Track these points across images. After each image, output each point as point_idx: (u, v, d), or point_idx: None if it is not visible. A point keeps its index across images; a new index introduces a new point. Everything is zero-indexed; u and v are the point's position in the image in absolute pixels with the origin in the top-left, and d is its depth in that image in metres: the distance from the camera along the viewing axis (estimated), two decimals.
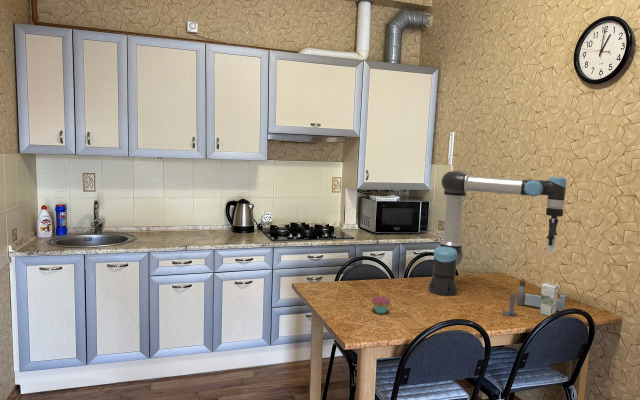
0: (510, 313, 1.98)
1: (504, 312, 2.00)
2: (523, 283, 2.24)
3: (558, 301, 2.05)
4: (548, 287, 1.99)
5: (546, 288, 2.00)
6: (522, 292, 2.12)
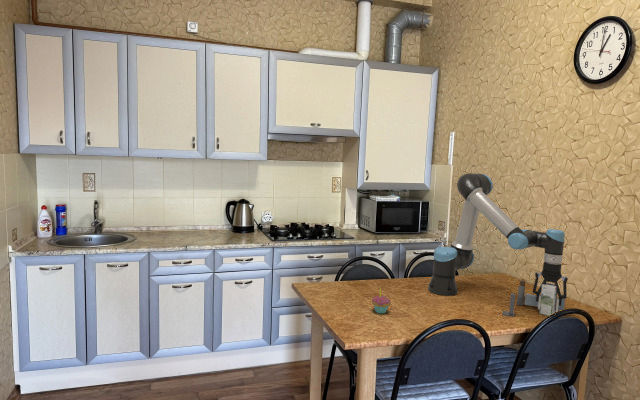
0: (510, 313, 1.98)
1: (504, 312, 2.00)
2: (523, 283, 2.24)
3: None
4: (548, 287, 1.99)
5: (546, 288, 2.00)
6: (522, 292, 2.12)
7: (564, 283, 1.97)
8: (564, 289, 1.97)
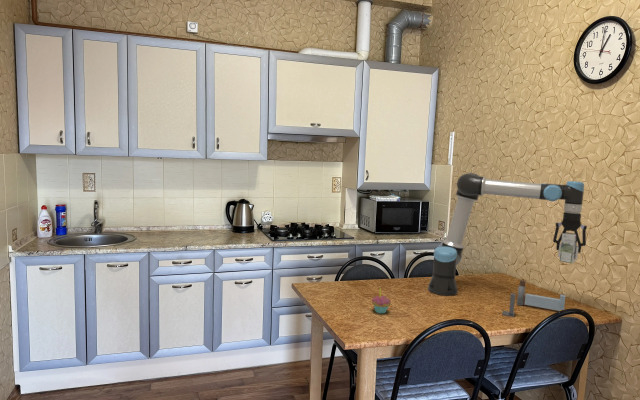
0: (510, 313, 1.98)
1: (504, 312, 2.00)
2: (523, 283, 2.24)
3: (558, 301, 2.05)
4: (568, 235, 2.11)
5: (566, 236, 2.12)
6: (522, 292, 2.12)
7: (583, 231, 2.10)
8: (583, 237, 2.10)
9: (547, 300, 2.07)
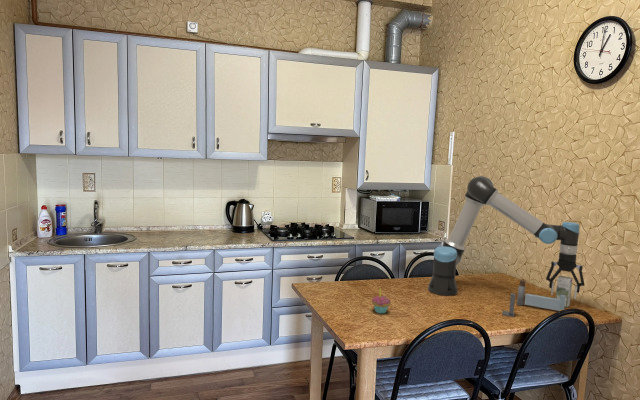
0: (510, 313, 1.98)
1: (504, 312, 2.00)
2: (523, 283, 2.24)
3: (558, 301, 2.05)
4: (563, 280, 2.13)
5: (561, 280, 2.14)
6: (522, 292, 2.12)
7: (580, 271, 2.11)
8: (581, 277, 2.11)
9: (547, 300, 2.07)
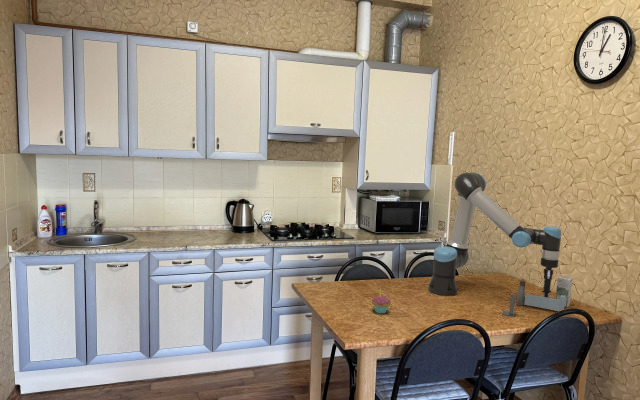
0: (510, 313, 1.98)
1: (504, 312, 2.00)
2: (523, 283, 2.24)
3: (558, 301, 2.04)
4: (563, 280, 2.13)
5: (561, 280, 2.14)
6: (522, 292, 2.12)
7: (545, 278, 2.07)
8: (544, 284, 2.07)
9: (547, 300, 2.07)
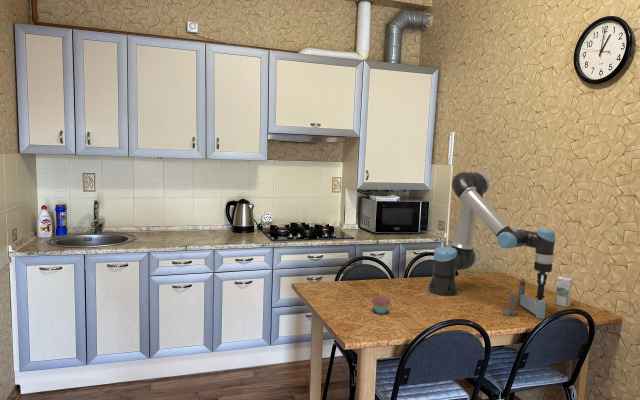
0: (510, 313, 1.98)
1: (504, 312, 2.00)
2: (523, 283, 2.24)
3: (536, 305, 1.97)
4: (563, 280, 2.13)
5: (561, 280, 2.14)
6: (519, 291, 2.13)
7: (538, 283, 1.98)
8: (538, 289, 1.99)
9: (531, 303, 2.02)
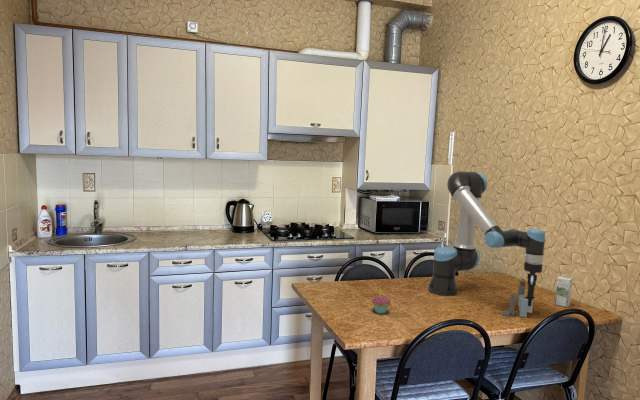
0: (510, 313, 1.98)
1: (504, 312, 2.00)
2: (523, 283, 2.24)
3: (520, 303, 1.99)
4: (563, 280, 2.13)
5: (561, 280, 2.14)
6: (518, 291, 2.13)
7: (528, 284, 1.96)
8: (528, 289, 1.96)
9: (520, 301, 2.03)
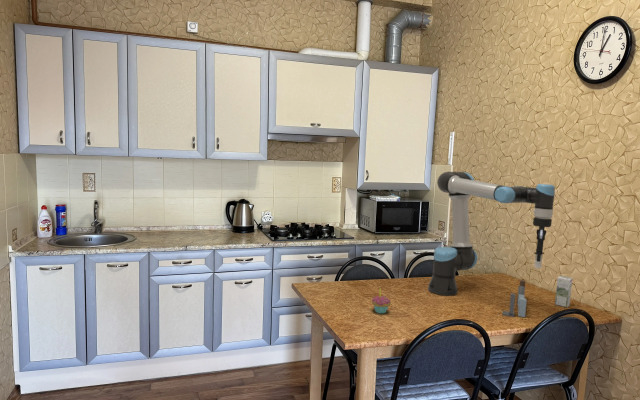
0: (510, 313, 1.98)
1: (504, 312, 2.00)
2: (523, 283, 2.24)
3: None
4: (563, 280, 2.13)
5: (561, 280, 2.14)
6: (518, 291, 2.13)
7: (537, 238, 1.95)
8: (537, 244, 1.95)
9: (519, 301, 2.03)
